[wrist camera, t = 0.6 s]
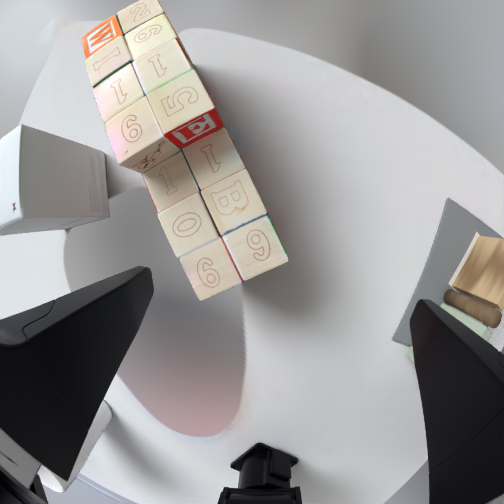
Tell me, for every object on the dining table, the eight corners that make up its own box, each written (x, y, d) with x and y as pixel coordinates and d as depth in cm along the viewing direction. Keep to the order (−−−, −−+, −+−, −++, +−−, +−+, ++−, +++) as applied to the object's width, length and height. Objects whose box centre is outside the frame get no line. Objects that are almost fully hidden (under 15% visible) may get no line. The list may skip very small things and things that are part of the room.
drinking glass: (104, 430, 30) (54, 495, 15) (70, 396, 30) (11, 453, 15) (126, 415, 29) (73, 492, 14) (90, 378, 29) (21, 443, 14)
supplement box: (106, 150, 25) (23, 120, 13) (111, 218, 26) (22, 221, 14) (58, 168, 26) (-23, 154, 13) (62, 230, 27) (-22, 239, 14)
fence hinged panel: (442, 302, 24) (487, 327, 16) (447, 308, 24) (492, 333, 16) (405, 353, 25) (440, 391, 17) (411, 358, 25) (446, 395, 17)
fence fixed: (448, 306, 25) (494, 331, 16) (441, 298, 25) (488, 323, 16) (484, 242, 24) (533, 251, 15) (477, 234, 24) (528, 240, 15)
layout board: (467, 362, 26) (469, 364, 25) (392, 338, 26) (393, 340, 25) (513, 248, 24) (515, 248, 23) (447, 198, 24) (449, 197, 23)
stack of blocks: (283, 247, 26) (295, 273, 13) (221, 275, 26) (183, 321, 14) (192, 63, 24) (153, -10, 12) (140, 91, 25) (78, 35, 12)
